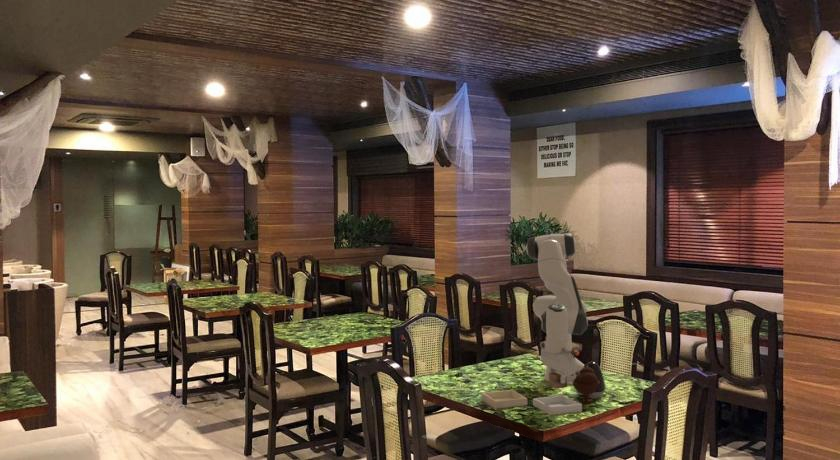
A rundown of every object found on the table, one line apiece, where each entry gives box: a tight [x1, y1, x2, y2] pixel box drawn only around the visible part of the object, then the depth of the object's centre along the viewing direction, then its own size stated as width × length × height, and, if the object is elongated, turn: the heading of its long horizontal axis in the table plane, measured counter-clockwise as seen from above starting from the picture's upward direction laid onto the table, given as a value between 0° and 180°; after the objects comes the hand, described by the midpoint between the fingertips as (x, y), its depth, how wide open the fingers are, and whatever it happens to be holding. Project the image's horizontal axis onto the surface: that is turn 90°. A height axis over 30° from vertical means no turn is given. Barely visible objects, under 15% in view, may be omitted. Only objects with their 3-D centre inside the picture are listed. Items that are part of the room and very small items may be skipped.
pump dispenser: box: [584, 361, 606, 400], centre depth 287 cm, size 10×10×15 cm
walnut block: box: [548, 372, 568, 389], centre depth 270 cm, size 5×5×5 cm
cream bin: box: [481, 389, 528, 411], centre depth 279 cm, size 14×14×4 cm
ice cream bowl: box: [572, 367, 600, 405], centre depth 277 cm, size 11×11×15 cm
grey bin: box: [532, 395, 583, 416], centre depth 270 cm, size 14×14×4 cm
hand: (558, 380), depth 270 cm, fingers closed on walnut block, 5 cm apart
